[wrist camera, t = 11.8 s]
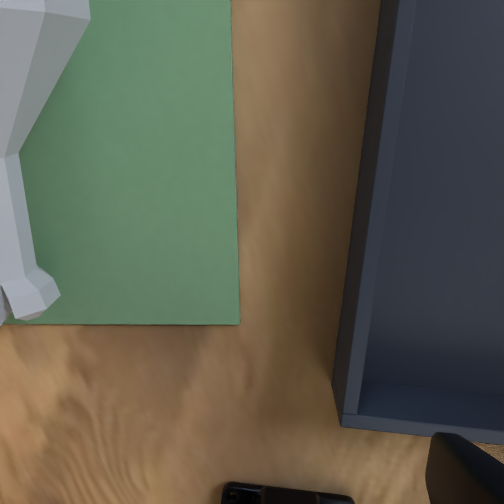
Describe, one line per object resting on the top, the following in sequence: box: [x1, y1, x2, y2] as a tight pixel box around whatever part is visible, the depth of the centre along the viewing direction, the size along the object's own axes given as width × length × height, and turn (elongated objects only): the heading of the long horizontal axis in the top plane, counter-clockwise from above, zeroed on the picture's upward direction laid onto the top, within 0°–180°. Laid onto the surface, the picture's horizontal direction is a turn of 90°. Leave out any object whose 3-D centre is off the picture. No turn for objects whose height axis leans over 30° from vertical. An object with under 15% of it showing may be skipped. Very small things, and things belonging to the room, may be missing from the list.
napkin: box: [3, 0, 240, 325], centre depth 19 cm, size 19×18×1 cm
